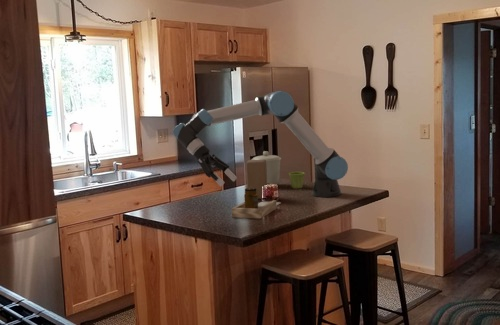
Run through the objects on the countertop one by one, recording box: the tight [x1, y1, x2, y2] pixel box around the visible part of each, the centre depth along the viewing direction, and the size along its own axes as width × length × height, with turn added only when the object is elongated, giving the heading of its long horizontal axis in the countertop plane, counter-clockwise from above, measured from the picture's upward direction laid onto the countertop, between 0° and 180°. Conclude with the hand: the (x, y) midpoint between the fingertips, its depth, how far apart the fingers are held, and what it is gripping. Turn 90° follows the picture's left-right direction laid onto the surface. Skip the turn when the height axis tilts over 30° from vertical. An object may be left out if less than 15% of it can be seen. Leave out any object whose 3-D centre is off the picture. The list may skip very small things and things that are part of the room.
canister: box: [250, 150, 282, 185], centre depth 311 cm, size 18×18×21 cm
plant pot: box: [288, 171, 306, 189], centre depth 300 cm, size 9×9×9 cm
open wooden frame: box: [231, 199, 277, 219], centre depth 242 cm, size 14×20×4 cm
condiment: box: [244, 187, 259, 209], centre depth 238 cm, size 7×8×12 cm
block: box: [245, 159, 267, 200], centre depth 276 cm, size 10×10×20 cm
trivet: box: [258, 201, 282, 208], centre depth 257 cm, size 10×10×1 cm
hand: (229, 182), depth 241 cm, fingers open, 13 cm apart
